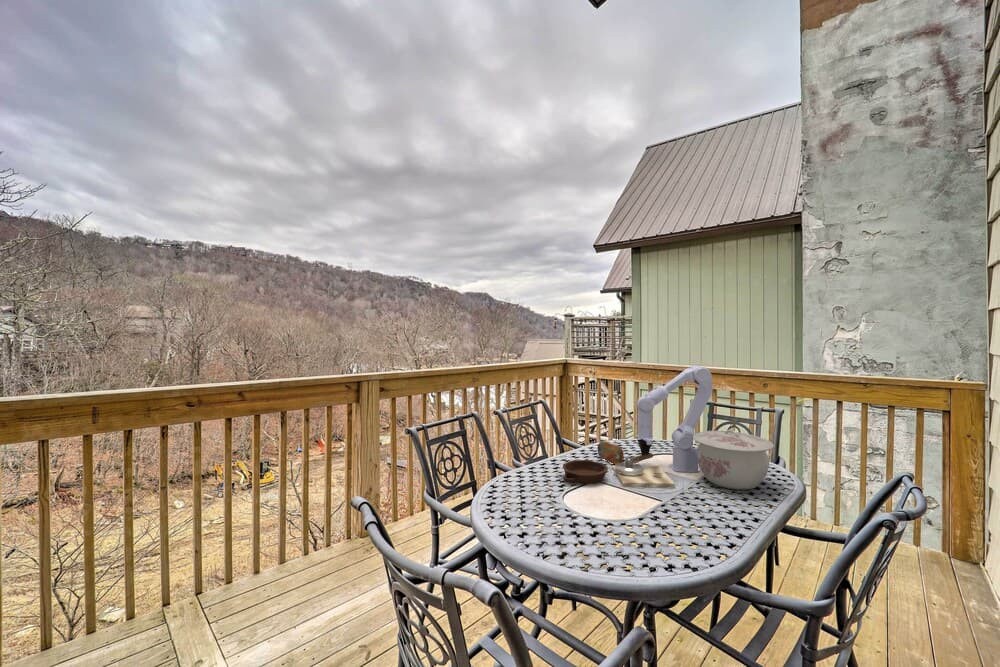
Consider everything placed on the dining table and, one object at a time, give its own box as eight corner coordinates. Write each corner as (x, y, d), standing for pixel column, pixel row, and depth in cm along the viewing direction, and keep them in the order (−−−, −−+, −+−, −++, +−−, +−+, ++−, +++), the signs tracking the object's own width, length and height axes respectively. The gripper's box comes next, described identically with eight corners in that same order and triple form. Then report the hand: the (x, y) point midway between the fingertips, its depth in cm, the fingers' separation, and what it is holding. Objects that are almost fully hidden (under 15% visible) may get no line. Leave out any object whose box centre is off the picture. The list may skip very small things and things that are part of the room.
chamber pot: (771, 504, 146) (771, 443, 146) (684, 486, 162) (685, 431, 162) (776, 479, 169) (776, 427, 168) (700, 466, 185) (700, 418, 184)
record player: (658, 469, 181) (658, 465, 181) (674, 487, 161) (674, 483, 161) (612, 469, 182) (612, 465, 182) (623, 486, 162) (623, 482, 162)
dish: (619, 477, 172) (619, 465, 172) (586, 492, 157) (586, 479, 157) (583, 467, 185) (584, 455, 185) (549, 480, 170) (549, 467, 170)
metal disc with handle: (630, 477, 166) (630, 464, 166) (608, 469, 176) (609, 456, 176) (663, 468, 177) (663, 456, 176) (641, 461, 186) (641, 449, 186)
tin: (597, 457, 197) (597, 439, 197) (602, 456, 199) (602, 438, 198) (619, 467, 184) (619, 447, 183) (625, 466, 185) (625, 447, 185)
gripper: (631, 421, 191) (631, 451, 191) (639, 429, 176) (639, 462, 176) (647, 421, 190) (647, 452, 190) (657, 429, 176) (657, 462, 176)
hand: (644, 457), depth 183 cm, fingers closed
